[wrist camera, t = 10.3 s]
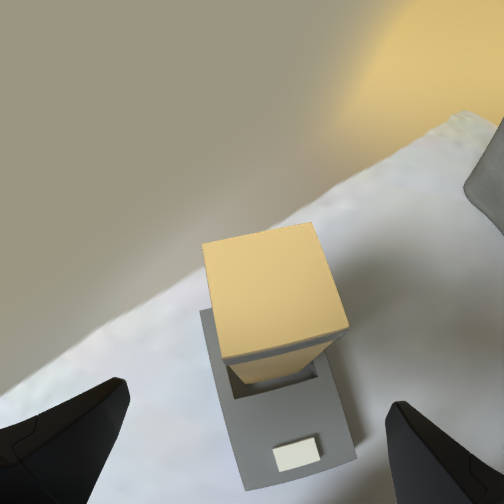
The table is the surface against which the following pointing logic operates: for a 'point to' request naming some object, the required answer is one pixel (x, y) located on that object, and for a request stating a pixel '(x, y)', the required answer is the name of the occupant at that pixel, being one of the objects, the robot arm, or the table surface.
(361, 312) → the table surface
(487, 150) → the flask
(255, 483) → the bar
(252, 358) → the plug
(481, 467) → the robot arm
